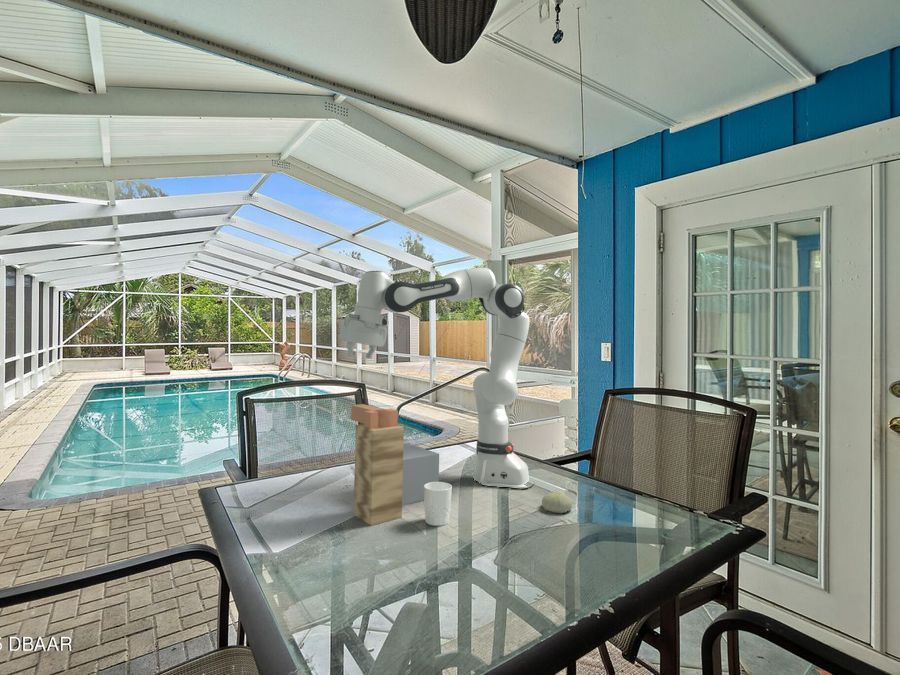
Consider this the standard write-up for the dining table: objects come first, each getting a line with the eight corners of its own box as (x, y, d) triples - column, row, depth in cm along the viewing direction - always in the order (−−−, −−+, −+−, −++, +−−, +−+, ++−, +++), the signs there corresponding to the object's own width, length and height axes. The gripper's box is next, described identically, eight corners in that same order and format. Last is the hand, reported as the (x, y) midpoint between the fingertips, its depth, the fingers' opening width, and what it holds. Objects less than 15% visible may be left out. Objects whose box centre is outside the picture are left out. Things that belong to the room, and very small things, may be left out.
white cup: (448, 528, 129) (448, 491, 129) (420, 525, 131) (420, 489, 131) (453, 517, 137) (454, 483, 137) (427, 515, 138) (427, 480, 138)
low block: (438, 496, 154) (439, 453, 154) (399, 506, 145) (400, 460, 145) (407, 482, 168) (407, 443, 168) (369, 490, 159) (370, 448, 159)
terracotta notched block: (397, 425, 137) (398, 410, 137) (370, 429, 132) (370, 412, 132) (369, 417, 150) (370, 403, 150) (343, 420, 144) (344, 405, 144)
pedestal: (401, 517, 136) (403, 426, 136) (371, 525, 130) (373, 430, 130) (383, 507, 144) (385, 421, 144) (353, 514, 137) (355, 424, 137)
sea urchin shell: (536, 505, 143) (542, 482, 148) (541, 518, 148) (547, 495, 153) (567, 511, 139) (572, 486, 144) (571, 524, 144) (575, 500, 149)
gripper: (353, 313, 151) (346, 356, 150) (391, 322, 169) (385, 361, 168) (339, 311, 154) (331, 353, 154) (377, 320, 172) (371, 358, 171)
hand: (359, 357), depth 161 cm, fingers open, 8 cm apart
